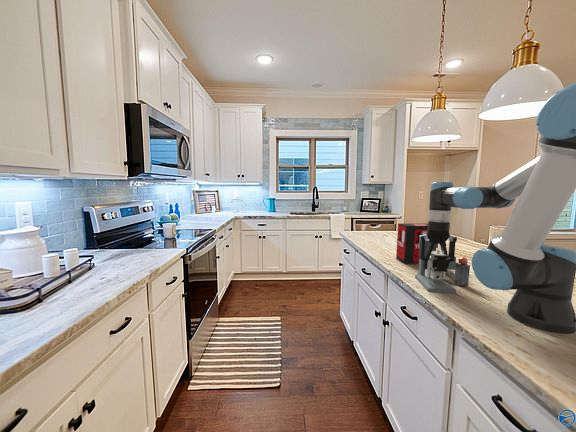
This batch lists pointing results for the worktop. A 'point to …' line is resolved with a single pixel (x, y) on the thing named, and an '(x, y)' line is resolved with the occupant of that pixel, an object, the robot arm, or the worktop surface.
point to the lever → (461, 272)
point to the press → (429, 282)
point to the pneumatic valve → (438, 264)
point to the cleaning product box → (409, 242)
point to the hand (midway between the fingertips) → (434, 277)
